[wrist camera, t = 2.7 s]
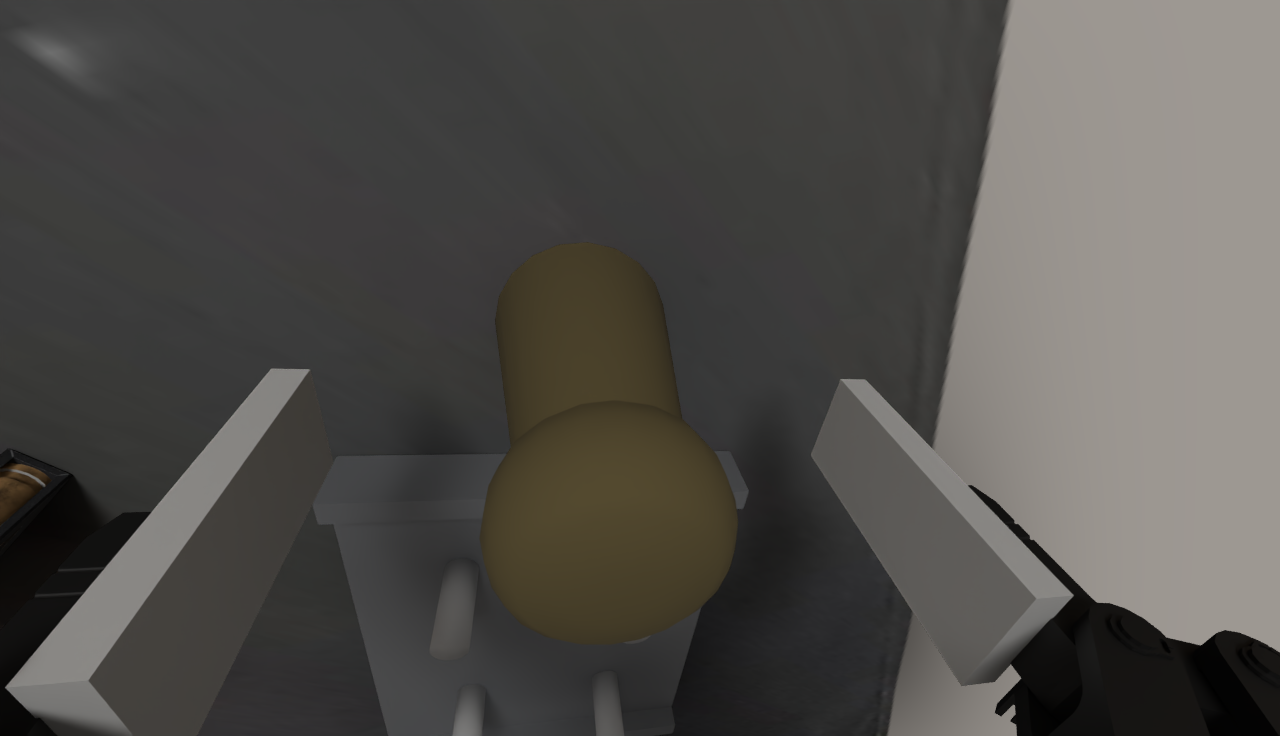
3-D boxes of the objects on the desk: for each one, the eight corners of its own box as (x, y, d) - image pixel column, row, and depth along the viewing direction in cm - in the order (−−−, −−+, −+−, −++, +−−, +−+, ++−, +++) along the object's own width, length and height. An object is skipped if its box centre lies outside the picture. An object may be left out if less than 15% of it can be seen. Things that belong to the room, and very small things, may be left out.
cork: (525, 409, 20) (511, 718, 11) (469, 266, 17) (376, 532, 7) (675, 372, 20) (788, 643, 11) (648, 223, 17) (777, 429, 8)
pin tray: (664, 689, 33) (682, 783, 29) (398, 719, 30) (374, 829, 25) (729, 450, 23) (772, 540, 19) (337, 455, 20) (281, 565, 15)
